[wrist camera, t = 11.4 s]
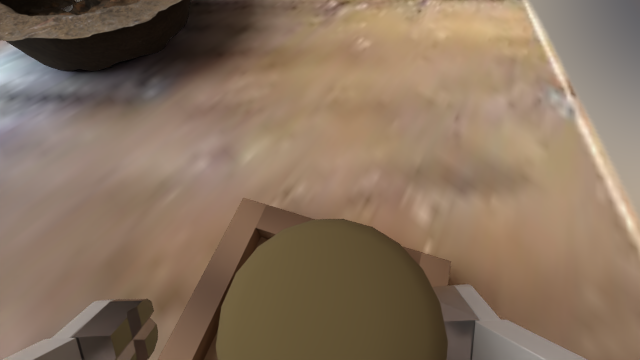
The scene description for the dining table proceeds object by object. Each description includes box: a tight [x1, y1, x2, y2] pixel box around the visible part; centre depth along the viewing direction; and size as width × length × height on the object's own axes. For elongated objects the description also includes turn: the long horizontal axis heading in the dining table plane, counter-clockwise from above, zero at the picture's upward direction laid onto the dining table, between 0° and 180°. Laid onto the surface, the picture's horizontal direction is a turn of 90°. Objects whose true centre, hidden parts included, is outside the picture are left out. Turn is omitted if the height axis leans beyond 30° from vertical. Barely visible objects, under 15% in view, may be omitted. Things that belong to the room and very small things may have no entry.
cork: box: [216, 219, 448, 360], centre depth 10 cm, size 6×6×11 cm
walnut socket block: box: [158, 198, 451, 360], centre depth 15 cm, size 12×12×2 cm
